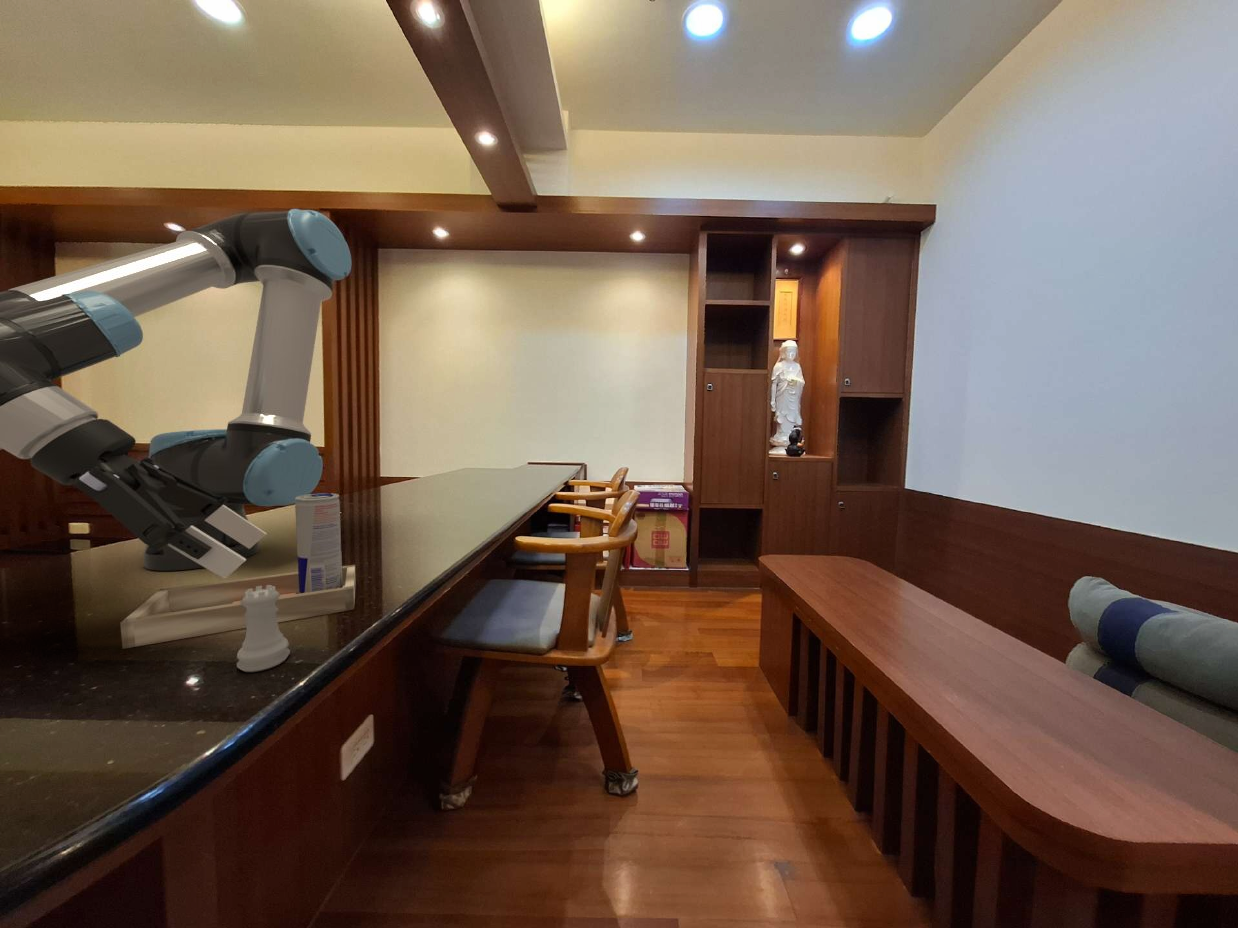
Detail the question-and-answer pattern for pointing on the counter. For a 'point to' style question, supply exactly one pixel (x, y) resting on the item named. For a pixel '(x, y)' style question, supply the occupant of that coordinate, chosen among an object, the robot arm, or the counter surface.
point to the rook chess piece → (262, 632)
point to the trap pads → (280, 595)
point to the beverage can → (318, 542)
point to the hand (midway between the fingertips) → (248, 553)
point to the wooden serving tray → (227, 607)
